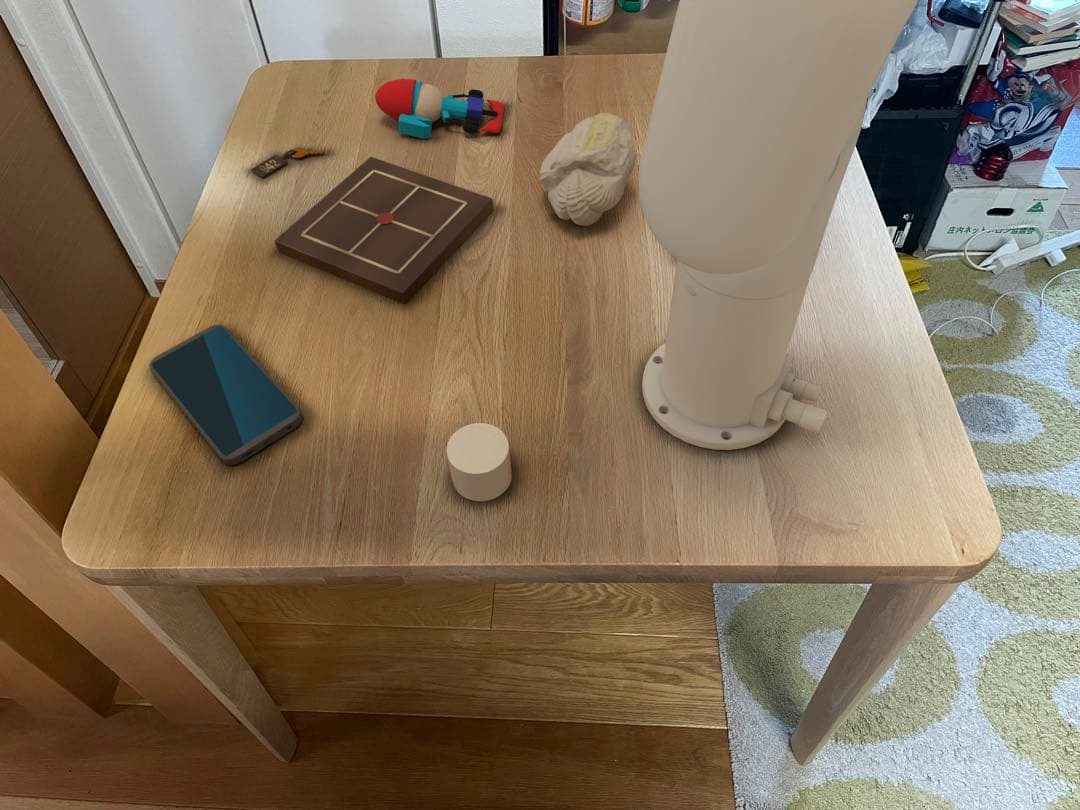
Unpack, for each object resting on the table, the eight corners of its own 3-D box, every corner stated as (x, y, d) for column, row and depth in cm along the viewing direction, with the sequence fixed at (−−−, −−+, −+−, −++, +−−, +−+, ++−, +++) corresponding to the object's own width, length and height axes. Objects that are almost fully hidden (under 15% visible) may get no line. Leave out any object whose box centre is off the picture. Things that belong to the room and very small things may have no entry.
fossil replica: (546, 243, 84) (641, 237, 85) (552, 178, 77) (656, 173, 78) (529, 165, 90) (618, 160, 92) (533, 98, 83) (629, 95, 85)
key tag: (258, 179, 91) (256, 175, 91) (248, 166, 93) (246, 162, 92) (325, 153, 94) (324, 148, 93) (314, 141, 95) (313, 136, 95)
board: (493, 209, 87) (492, 197, 86) (405, 304, 78) (402, 292, 77) (373, 167, 92) (370, 155, 91) (278, 252, 84) (273, 239, 83)
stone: (523, 466, 67) (520, 437, 63) (491, 511, 64) (487, 483, 61) (473, 443, 68) (468, 413, 65) (440, 486, 66) (434, 457, 62)
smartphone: (228, 470, 67) (225, 464, 66) (148, 368, 74) (143, 361, 73) (308, 420, 70) (305, 413, 69) (223, 326, 77) (220, 319, 76)
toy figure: (503, 113, 101) (380, 95, 99) (507, 78, 97) (379, 58, 95) (498, 154, 97) (370, 135, 95) (502, 119, 92) (368, 99, 91)
